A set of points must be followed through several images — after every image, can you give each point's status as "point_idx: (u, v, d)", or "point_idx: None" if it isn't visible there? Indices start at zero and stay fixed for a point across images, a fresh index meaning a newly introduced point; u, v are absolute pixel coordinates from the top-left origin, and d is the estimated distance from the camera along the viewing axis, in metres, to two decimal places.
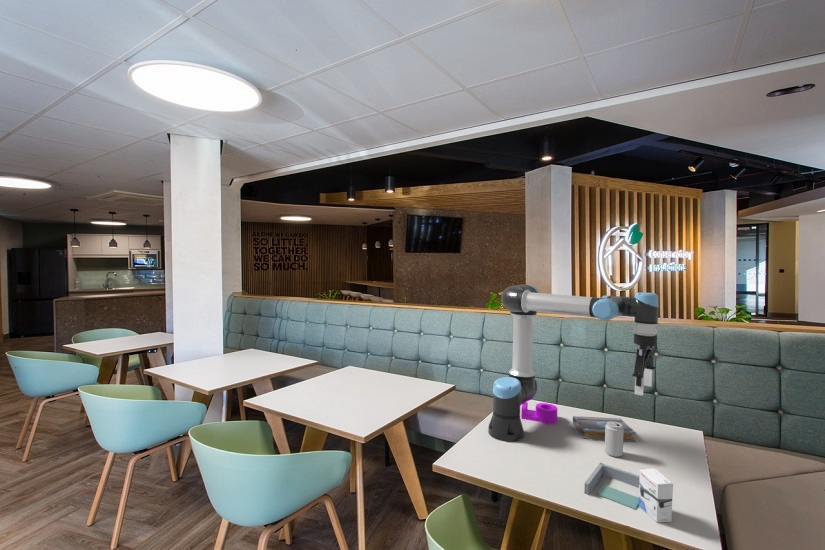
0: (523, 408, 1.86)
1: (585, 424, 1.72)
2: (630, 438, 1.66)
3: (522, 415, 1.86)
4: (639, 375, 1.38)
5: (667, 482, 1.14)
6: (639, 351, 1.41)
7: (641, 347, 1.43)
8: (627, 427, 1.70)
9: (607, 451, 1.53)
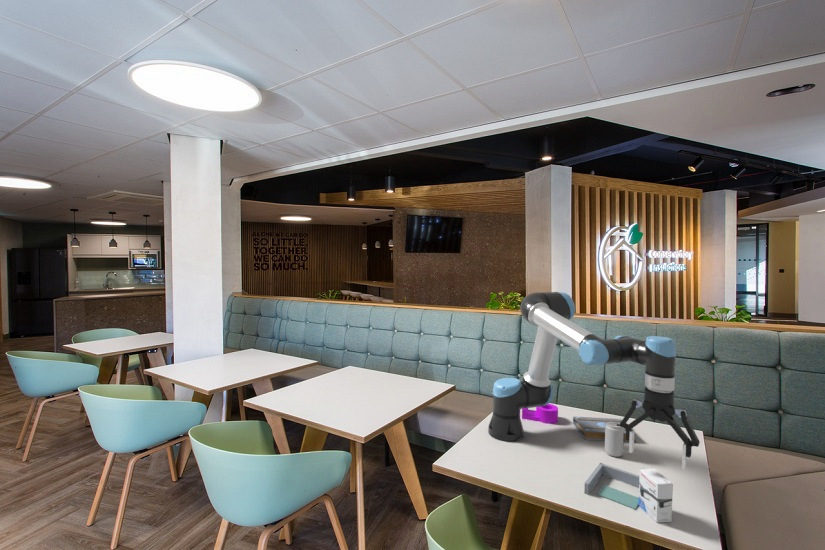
0: None
1: (585, 425, 1.72)
2: None
3: (523, 415, 1.86)
4: None
5: (667, 482, 1.14)
6: (633, 401, 1.22)
7: None
8: None
9: (607, 451, 1.53)
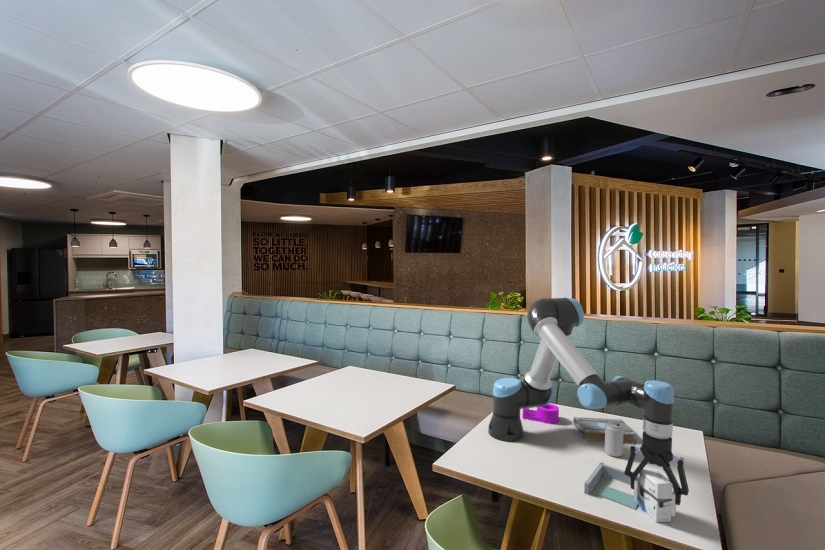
0: None
1: (586, 426, 1.71)
2: (631, 439, 1.65)
3: (523, 415, 1.86)
4: None
5: (667, 482, 1.14)
6: None
7: None
8: (628, 428, 1.69)
9: (607, 451, 1.53)
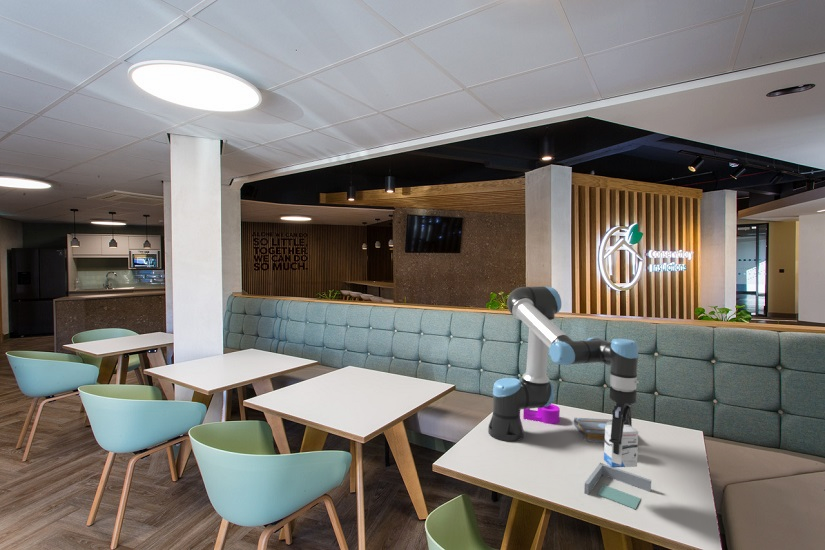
0: None
1: (586, 426, 1.70)
2: None
3: (524, 415, 1.86)
4: (616, 442, 1.19)
5: (630, 426, 1.26)
6: (615, 413, 1.20)
7: (617, 405, 1.22)
8: None
9: None
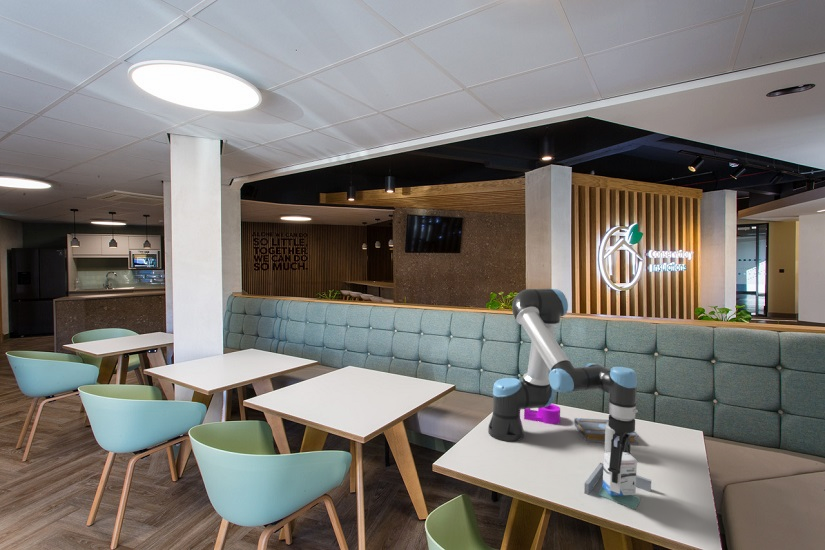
0: None
1: (587, 427, 1.70)
2: (632, 441, 1.63)
3: (525, 415, 1.86)
4: (615, 472, 1.19)
5: (628, 454, 1.27)
6: (614, 442, 1.20)
7: (616, 434, 1.22)
8: None
9: (607, 451, 1.53)
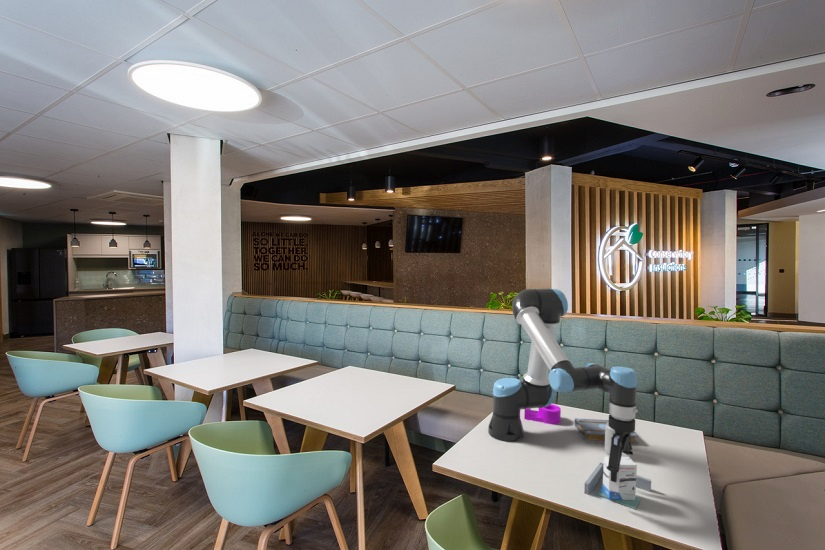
0: None
1: (587, 427, 1.70)
2: (633, 441, 1.63)
3: (525, 415, 1.86)
4: (614, 470, 1.18)
5: (629, 459, 1.27)
6: (614, 440, 1.20)
7: (617, 433, 1.22)
8: None
9: (607, 451, 1.53)
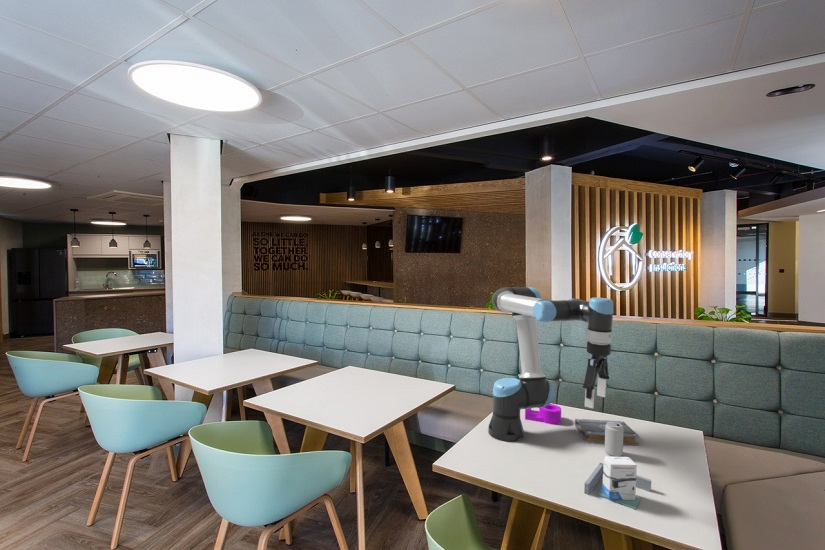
0: None
1: (587, 427, 1.69)
2: (633, 441, 1.63)
3: (526, 416, 1.86)
4: (589, 387, 1.29)
5: (629, 459, 1.27)
6: (590, 361, 1.31)
7: (593, 356, 1.34)
8: (630, 430, 1.67)
9: (607, 451, 1.53)
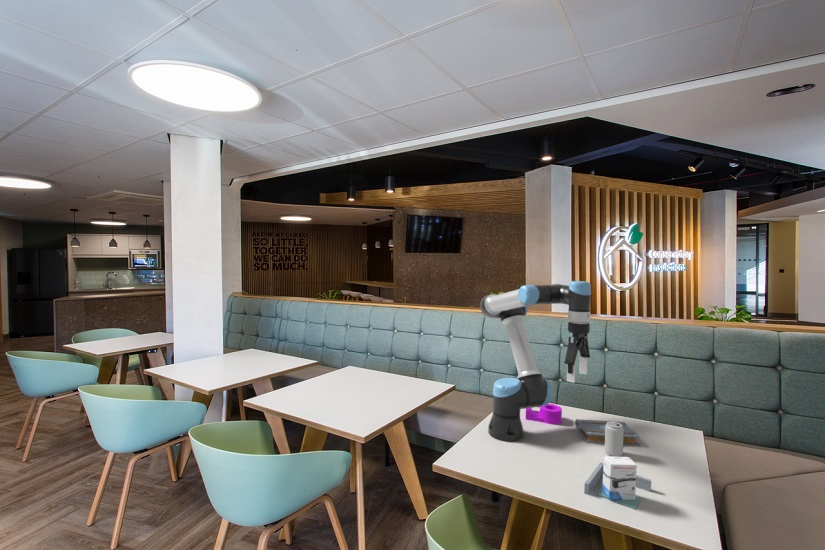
0: (527, 409, 1.86)
1: (588, 428, 1.69)
2: (634, 442, 1.62)
3: (526, 416, 1.86)
4: (570, 362, 1.40)
5: (629, 459, 1.27)
6: (571, 339, 1.42)
7: (574, 335, 1.45)
8: (631, 431, 1.66)
9: (607, 451, 1.53)
